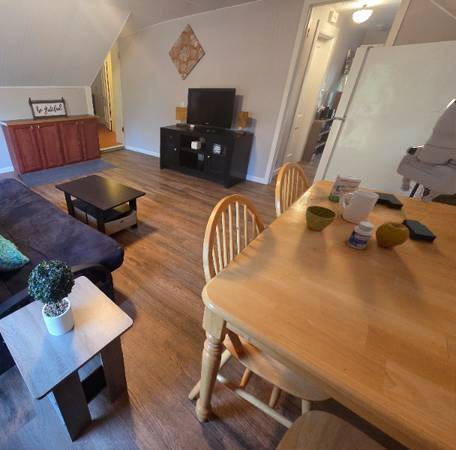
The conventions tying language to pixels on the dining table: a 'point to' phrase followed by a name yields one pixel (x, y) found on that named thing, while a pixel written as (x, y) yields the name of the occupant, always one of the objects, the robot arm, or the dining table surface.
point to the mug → (358, 205)
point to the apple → (391, 234)
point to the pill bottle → (361, 235)
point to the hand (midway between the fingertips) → (414, 196)
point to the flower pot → (319, 217)
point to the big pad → (389, 200)
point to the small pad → (418, 231)
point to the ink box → (344, 187)
